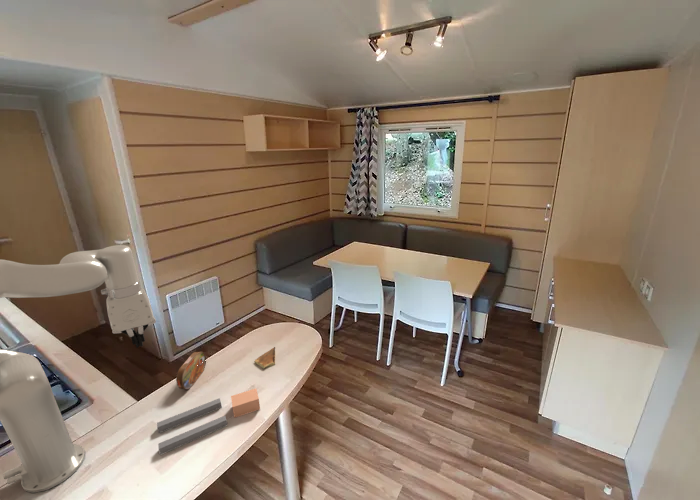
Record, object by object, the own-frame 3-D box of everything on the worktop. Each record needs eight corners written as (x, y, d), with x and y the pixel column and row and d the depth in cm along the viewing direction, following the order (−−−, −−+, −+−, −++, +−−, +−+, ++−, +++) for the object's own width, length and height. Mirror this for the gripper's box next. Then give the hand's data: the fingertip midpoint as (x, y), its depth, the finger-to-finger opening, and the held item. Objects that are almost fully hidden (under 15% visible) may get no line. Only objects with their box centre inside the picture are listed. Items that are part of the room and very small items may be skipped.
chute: (160, 454, 89) (158, 449, 88) (158, 428, 97) (156, 422, 96) (227, 425, 98) (226, 419, 97) (220, 403, 106) (219, 398, 105)
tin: (186, 394, 110) (181, 374, 107) (177, 394, 110) (172, 374, 107) (208, 365, 124) (204, 347, 121) (200, 364, 124) (196, 346, 121)
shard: (275, 349, 133) (274, 345, 133) (287, 356, 129) (287, 352, 128) (253, 363, 125) (253, 359, 125) (266, 371, 121) (266, 367, 120)
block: (234, 418, 100) (232, 407, 99) (232, 406, 105) (230, 396, 103) (260, 409, 104) (258, 398, 102) (257, 398, 108) (256, 388, 106)
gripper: (89, 301, 82) (108, 360, 88) (156, 287, 90) (168, 342, 96) (93, 290, 88) (110, 346, 94) (155, 278, 96) (167, 330, 102)
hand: (139, 344), depth 95 cm, fingers closed
